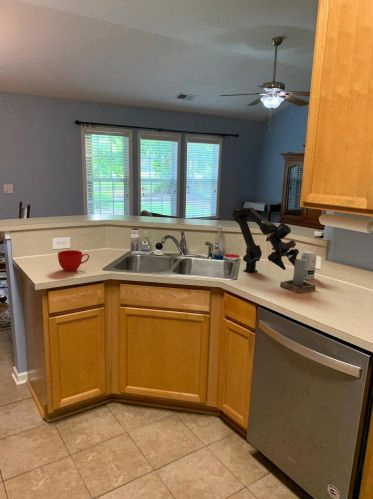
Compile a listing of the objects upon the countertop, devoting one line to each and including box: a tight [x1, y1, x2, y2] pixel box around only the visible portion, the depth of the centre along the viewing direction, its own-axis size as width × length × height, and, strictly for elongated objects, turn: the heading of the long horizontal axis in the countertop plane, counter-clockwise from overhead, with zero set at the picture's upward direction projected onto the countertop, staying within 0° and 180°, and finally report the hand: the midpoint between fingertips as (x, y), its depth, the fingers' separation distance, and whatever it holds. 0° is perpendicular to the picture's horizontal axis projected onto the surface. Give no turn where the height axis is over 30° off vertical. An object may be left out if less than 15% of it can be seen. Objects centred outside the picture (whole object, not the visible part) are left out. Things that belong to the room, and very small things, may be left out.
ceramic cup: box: [57, 249, 90, 273], centre depth 205 cm, size 13×17×10 cm
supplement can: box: [300, 250, 317, 280], centre depth 205 cm, size 8×8×15 cm
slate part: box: [292, 258, 306, 288], centre depth 186 cm, size 5×5×14 cm
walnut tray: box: [279, 279, 317, 295], centre depth 188 cm, size 12×12×2 cm
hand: (291, 268), depth 190 cm, fingers open, 9 cm apart
